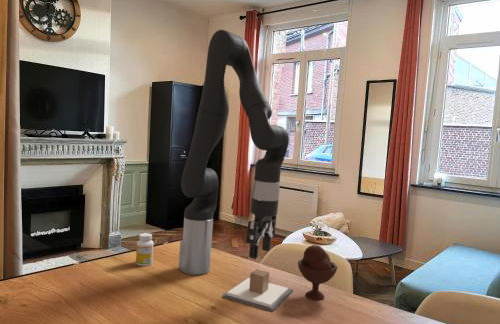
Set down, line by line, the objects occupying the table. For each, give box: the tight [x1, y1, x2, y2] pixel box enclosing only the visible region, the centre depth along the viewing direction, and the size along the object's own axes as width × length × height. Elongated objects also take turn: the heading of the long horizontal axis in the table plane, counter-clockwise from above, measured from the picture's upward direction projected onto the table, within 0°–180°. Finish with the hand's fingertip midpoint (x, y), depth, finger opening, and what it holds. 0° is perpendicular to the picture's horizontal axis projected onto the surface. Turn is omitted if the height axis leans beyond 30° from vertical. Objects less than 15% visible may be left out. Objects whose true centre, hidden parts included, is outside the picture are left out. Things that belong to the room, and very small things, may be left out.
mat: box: [222, 277, 294, 312], centre depth 105 cm, size 15×15×1 cm
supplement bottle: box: [135, 232, 155, 267], centre depth 123 cm, size 5×5×10 cm
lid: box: [226, 268, 289, 308], centre depth 104 cm, size 13×13×6 cm
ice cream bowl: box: [297, 244, 338, 302], centre depth 106 cm, size 11×11×15 cm
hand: (259, 254), depth 104 cm, fingers open, 8 cm apart
